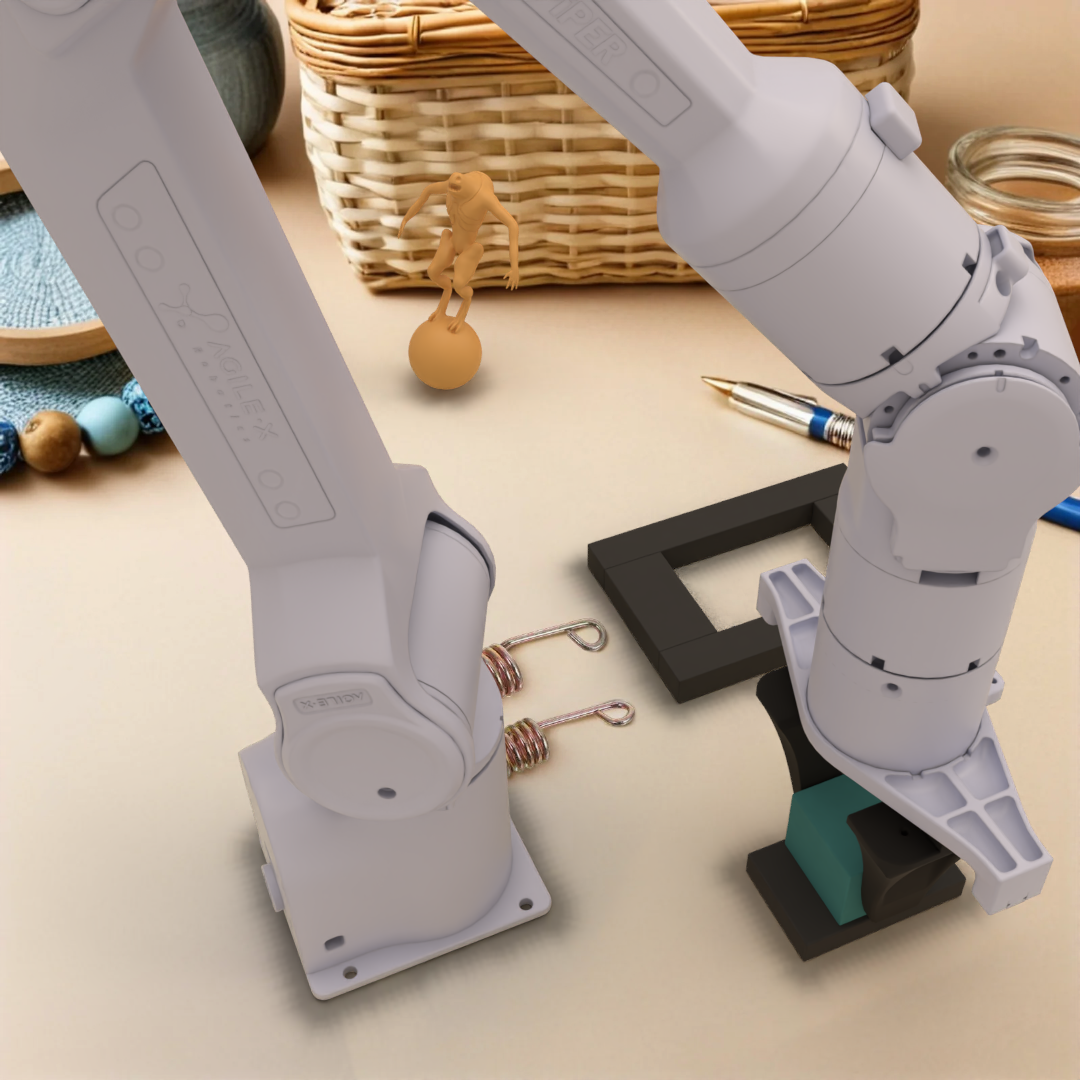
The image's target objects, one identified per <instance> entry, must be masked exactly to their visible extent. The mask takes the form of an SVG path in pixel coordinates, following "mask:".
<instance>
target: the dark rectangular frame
mask: <svg viewBox="0 0 1080 1080" xmlns="http://www.w3.org/2000/svg"><path fill="white" fill-rule="evenodd" d="M847 467H848V465H846V463H845V462H841V463H837V464H835V465H831V466H828V467H826V468H825V467H824V468H822V469H819V470H816V471H813V472H810V473H806V474H804V475H803V474H802V475H800V476H797V477H793V478H791V479H788V480H784V481H781V482H778V483H775V484H771V485H769V486H765V487H762V488H759V489H756V490H752V491H750V492H746V493H743V494H741V495H737V496H734V497H731V498H728V499H725V500H722V501H718V502H715V503H712V504H709V505H705V506H703V507H699V508H696V509H694V510H693V509H692V510H690V511H687V512H684V513H680V514H677V515H674V516H671V517H669V518H665V519H662V520H658V521H655V522H652V523H649V524H646V525H643V526H640V527H637V528H633V529H630V530H627V531H624V532H621V533H618V534H614V535H611V536H609V537H604V538H602V539H599V540H595V541H592V542H590V543H587V568H588V569H589V571H590V573H591V574H592V575H593V577H594V578H595V580H596V581H597V584H599V586H600V587H601V589H602V590H603V592H604V593H605V595H606V596H607V598H608V600H609V601H610V602H611V604H612V606H613V607H614V609H615V610H616V612H617V613H618V615H619V616H620V618H621V620H622V621H623V622H624V624H625V626H626V627H627V628H628V630H629V632H630V633H631V635H632V636H633V637H634V639H635V641H636V642H637V644H638V645H639V647H640V648H641V650H642V651H643V653H644V655H645V656H646V658H647V659H648V660H649V662H650V664H651V666H652V667H653V668H654V669H655V671H656V672H657V674H658V676H659V678H660V679H661V680H662V682H663V684H664V685H665V687H666V688H667V689H668V691H669V693H670V694H671V695H672V697H673V699H674V701H676V703H677V704H682V703H685V702H688V701H691V700H693V699H696V698H699V697H703V696H704V695H707V694H710V693H713V692H716V691H719V690H721V689H724V688H727V687H729V686H732V685H735V684H738V683H741V682H744V681H746V680H750V679H753V678H754V677H758V676H761V675H764V674H767V673H769V672H771V671H774V670H776V669H779V668H782V667H785V666H787V662H786V658H785V653H784V649H783V645H782V641H781V637H780V633H779V629H778V625H770V624H768V623H767V622H766V621H765V620H764V619H763V617H762V616H760V617H757V618H754V619H751V620H748V621H745V622H742V623H739V624H737V625H734V626H730V627H728V628H725V629H722V630H719V631H718V630H717V628H716V627H715V625H714V624H713V623H712V621H711V620H710V619H709V617H708V616H707V614H706V613H705V612H704V610H703V609H702V608H701V606H700V605H699V604H698V602H697V600H696V599H695V598H694V597H693V595H692V593H691V592H690V591H689V590H688V588H687V587H686V585H685V584H684V583H683V581H682V580H681V578H680V577H679V576H678V574H677V573H676V571H675V570H674V569H677V568H680V567H683V566H686V565H689V564H690V565H691V564H693V563H696V562H698V561H701V560H704V559H708V558H711V557H713V556H716V555H720V554H723V553H726V552H729V551H733V550H735V549H738V548H741V547H745V546H747V545H750V544H753V543H756V542H760V541H762V540H766V539H768V538H772V537H774V536H777V535H781V534H783V533H787V532H790V531H793V530H796V529H799V528H801V527H804V526H808V525H810V526H812V528H813V529H814V530H815V531H816V532H817V534H818V535H819V536H820V537H821V539H822V540H823V541H824V542H825V543H826V545H828V547H830V545H831V539H832V533H833V526H834V520H835V514H836V508H837V500H838V493H839V489H840V486H841V482H842V480H843V477H844V475H845V473H846V470H847Z"/></svg>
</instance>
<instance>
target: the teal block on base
mask: <svg viewBox="0 0 1080 1080" xmlns="http://www.w3.org/2000/svg"><path fill="white" fill-rule="evenodd" d="M880 802H882V801H881V800H880V799H878V798H877V797H876V796H874V795H873V794H872V793H870V792H869V791H867V790H866V789H865V788H863V787H862V786H860V785H859V784H858V783H856V782H855V781H853V780H852V779H851V778H849V777H848V776H846V775H845V774H843V775H840V776H838V777H835V778H833V779H830V780H827V781H825V782H822V783H820V784H817V785H814V786H812V787H809V788H807V789H804V790H802V791H799V792H796V793H792V794H791V801H790V807H789V813H788V820H787V826H786V833H785V839H782V840H779V841H777V842H774V843H772V844H769V845H766V846H764V847H761V848H759V849H756V850H754V851H752V852H749V853H748V854H747V858H746V867H745V872H746V874H747V875H748V877H749V878H750V880H751V881H752V883H753V886H755V888H756V889H757V891H758V893H759V894H760V896H761V897H762V899H763V901H764V902H765V904H766V905H767V907H768V908H769V910H770V912H771V913H772V915H773V917H774V918H775V920H776V921H777V923H778V925H779V926H780V928H781V929H782V930H783V933H784V935H786V938H788V940H789V942H790V943H791V945H792V947H793V948H794V950H795V951H796V953H797V954H798V956H799V958H800V959H801V961H802V962H804V963H805V962H807V961H810V960H813V959H815V958H817V957H820V956H822V955H825V954H827V953H829V952H832V951H833V950H836V949H838V948H840V947H841V948H842V947H843V946H845V945H848V944H850V943H853V942H855V941H858V940H860V939H863V938H865V937H867V936H869V935H871V934H873V933H876V932H879V931H882V930H884V929H886V928H888V927H891V926H893V925H896V924H897V923H900V922H902V921H905V920H907V919H909V918H912V917H913V916H917V915H918V914H921V913H923V912H926V911H928V910H931V909H933V908H935V907H937V906H940V905H942V904H945V903H948V902H950V901H952V900H954V899H957V898H959V897H961V896H963V895H962V894H963V891H964V888H965V885H966V882H967V877H966V876H965V874H964V873H963V871H962V870H961V869H960V868H959V866H958V865H957V863H955V864H954V865H952V866H951V867H950V868H949V869H948V870H947V871H946V872H945V873H944V874H943V875H942V876H941V877H940V878H939V879H938V880H937V881H936V882H935V884H934V885H933V886H932V887H931V888H930V890H929V891H928V892H927V894H926V895H925V896H924V898H923V899H922V900H921V902H920V903H919V905H918V906H917V907H915V908H912V909H910V910H907V911H905V912H903V913H900V914H898V915H896V916H893V917H891V918H888V919H886V920H884V921H881V922H879V923H877V924H876V923H873V922H872V921H871V920H870V919H869V917H868V916H867V914H866V913H865V911H864V909H863V905H862V900H861V884H862V876H863V860H862V853H861V849H860V845H859V843H858V840H857V838H856V835H855V834H854V833H853V831H852V830H851V828H850V827H849V826H848V824H847V823H846V821H847V816H848V815H849V814H852V813H854V812H857V811H859V810H862V809H864V808H867V807H870V806H872V805H875V804H877V803H880Z"/></svg>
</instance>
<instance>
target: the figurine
mask: <svg viewBox="0 0 1080 1080" xmlns="http://www.w3.org/2000/svg"><path fill="white" fill-rule="evenodd" d="M431 195H445V209H446V212H447V215H448V217H449V221H450V222H449V223H450V224H451V229H449V228H444V229H443V230H442V231H441V234H440V235H441V236H440V239H439V245H438V248H437V249H436V251H435V254H434V256H433V258H432V260H431V262H430V264H429V266H427V269H426V273H427V276H428V277H429V279H430V281H431V282H433V283H434V284H436V285H437V286H438V287H439V288H441V289H443V292H442V295H441V297H440V299H439V302H438V305H437V306H436V309H435V310H434V311H433V312H432V313H430V315H429V316H428V318H427V319H426V320H425V321H423V322H422V323H421V324H420V325H418V327H417V328H415V330H414V332H413V333H412V335H411V337H410V340H409V344H408V350H407V352H408V361H409V364H410V367H411V370H412V372H413V373H414V374H415V376H416V377H417V378H418V380H419V381H421V382H422V383H424V384H425V385H427V386H428V387H431V388H432V389H433V388H434V389H436V390H445V391H448V390H453V389H459V388H460V387H462V386H465V384H467V383H469V382H470V381H471V380H472V379H473V378H474V377H475V375H476V374H477V373H478V371H479V369H480V366H481V363H482V358H483V347H482V343H481V339H480V337H479V336H478V334H477V332H476V330H475V329H474V328H473V327H472V326H471V325H470V324H469V323H468V322H467V321H465V320H466V318H467V315H468V312H469V309H470V308H471V304H472V301H473V300H472V297H473V295H474V290H473V288H472V286H470V285H468V284H469V283H470V281H471V280H472V279H473V277H474V276H475V273H476V270H477V267H478V266H479V263H480V261H481V259H482V258H483V257H484V253H485V249H484V245H482V244H481V243H480V242H479V241H476V239H477V237H478V234H479V230H480V228H481V227H482V225H483V222H484V220H485V218H486V216H487V213H488V212H489V213H491V214H492V215H493V216H494V217H495V218H496V219H497V220H498V221H499V222H500V223H502V224H503V225H504V226H505V227H506V228H508V229H507V230H508V241H509V244H508V245H509V246H508V256H509V257H508V258H509V262H510V263H509V264H510V269H509V271H507V272H506V273H505V275H504V276H503V280H505V279H507V277H508V281H507V284H506V286H505V289H506V290H507V289H509V287H511V288H510V291H513V290H514V288H515V290H517V289H518V285H519V280H520V270H519V269H520V268H519V237H520V228H519V224H518V222H517V221H516V219H515V218H514V217H513V215H512V214H511V213H510V212H509V210H507V209H506V208H505V207H504V206H503V205H502V203H501V202H500V200H499V198H498V197H497V195H495V187H494V182H493V180H492V179H491V177H490V176H489V175H488V174H486V173H485V172H482V171H479V170H472V171H469V172H467V173H461V172H458V171H454V172H453V173H451V175H450V176H449V178H448V179H446V180H443V181H437V182H432V183H430V184H428V185H427V186H425V187H424V188H423V190H422V192H421V193H420V195H419V197H418V198H417V199H416V201H414V203H412V205H411V206H410V207H409V208H408V210H407V212H406V213H405V215H404V216H403V218H402V221H401V223H400V226H399V230H398V232H397V239H398V240H399V239H400V237H401V236H402V233H403V232H404V230H405V227H406V225H407V223H408V222H409V221H410V220H412V218H414V217H415V216H416V215H417V214H418V213H419V212H420V211H421V209H422V208H423V206H425V203H427V202H428V200H429V198H430V196H431ZM456 254H457V255H458V256H457V257H456ZM455 257H456V259H455ZM454 260H455V261H454ZM452 265H453V277H452V279H451V278H450V276H448V275H446V274H444V273H443V271H444V270H445V269H449V268H450V267H451V266H452ZM510 285H511V286H510ZM452 286H453V287H452ZM453 288H454V291H455V293H457V294H458V296H460V297H461V298H462V299H463V300H461V301H462V302H461V304H460V306H459V309H458V311H457V313H456V315H455V316H452V315H447V309H448V306H449V303H450V299H451V296H452V293H453Z"/></svg>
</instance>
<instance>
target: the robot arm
mask: <svg viewBox="0 0 1080 1080" xmlns="http://www.w3.org/2000/svg"><path fill="white" fill-rule="evenodd" d="M468 1H469V2H470V3H471V4H473V5H474V7H476V8H477V9H478V10H479V11H480V12H482V13H483V14H484V15H485V16H486V17H487V18H488V19H490V21H492V22H493V23H494V24H495V25H496V26H497V27H499V29H501V30H502V31H503V32H504V33H505V34H507V35H508V36H509V37H510V38H511V39H512V40H513V41H515V43H517V44H518V45H519V46H520V47H521V48H523V50H525V51H526V52H527V53H528V54H530V55H531V56H532V57H533V58H534V59H535V60H536V61H537V62H538V63H539V64H541V65H542V66H543V67H544V68H545V69H547V71H549V72H550V73H551V74H552V75H553V76H554V77H556V79H558V80H559V81H560V82H561V83H563V85H565V86H566V87H567V88H568V89H569V90H571V91H572V92H573V93H574V94H575V95H576V96H577V97H578V98H579V99H580V100H582V101H583V102H584V103H585V104H587V105H588V106H589V107H590V108H591V109H592V110H593V111H595V112H596V113H597V114H598V115H599V116H600V117H601V118H603V120H604V121H605V122H607V123H608V124H609V125H611V126H612V127H613V128H614V129H615V130H616V131H617V132H619V134H621V135H622V136H623V137H624V138H625V139H626V140H628V141H629V143H630V144H632V145H633V146H634V147H635V148H637V149H638V150H639V151H640V152H642V154H643V155H645V156H646V158H648V159H649V160H650V161H652V162H653V163H654V164H655V165H656V166H657V167H658V169H659V175H658V184H657V195H656V223H657V228H658V232H659V234H660V237H661V238H662V240H663V241H664V242H665V244H666V245H667V246H668V247H669V248H671V250H672V251H674V253H676V254H677V255H678V256H679V257H680V258H681V259H682V260H683V261H684V262H686V263H687V265H689V266H690V267H691V268H692V269H693V270H694V271H695V272H696V273H697V274H698V275H699V276H701V278H702V279H703V280H704V281H706V282H707V283H708V284H709V285H710V286H711V287H712V288H713V289H714V290H715V291H716V292H717V293H718V294H719V295H720V296H722V297H723V299H725V300H726V302H728V303H729V304H730V305H731V306H732V308H734V310H736V311H737V312H738V313H739V314H741V315H742V317H743V318H744V319H746V321H748V322H749V323H750V324H751V325H752V326H753V327H754V328H755V329H756V330H757V331H758V332H759V333H760V334H761V335H762V336H763V337H765V339H767V341H769V342H770V343H771V344H772V345H773V346H774V347H775V348H776V349H777V350H778V351H779V352H781V354H782V355H783V356H784V357H786V359H788V361H790V362H791V363H792V364H793V365H794V366H795V367H796V368H797V369H798V370H799V371H800V372H801V373H802V374H803V375H805V377H807V379H808V380H809V381H811V383H813V384H814V386H816V387H817V388H818V389H819V390H820V391H821V392H823V393H824V394H825V395H827V396H828V397H830V398H831V399H832V400H834V401H836V402H837V403H838V404H840V405H842V406H843V407H845V408H846V409H848V410H849V411H851V412H852V413H853V414H855V419H854V422H853V423H854V425H853V430H852V437H851V443H850V450H849V454H848V455H849V456H848V461H847V470H846V473H845V475H844V477H843V480H842V482H841V486H840V489H839V493H838V500H837V508H836V514H835V520H834V526H833V533H832V539H831V545H830V546H829V552H828V559H827V565H826V571H825V576H824V575H823V574H822V573H821V572H820V571H819V570H818V569H817V568H816V567H815V566H814V565H813V563H811V561H810V560H809V559H808V558H801V559H799V560H796V561H793V562H790V563H787V564H784V565H781V566H778V567H774V568H772V569H769V570H766V571H763V572H761V573H760V574H759V580H758V590H757V597H756V606H755V609H756V611H757V612H758V614H759V615H760V617H763V619H764V620H765V621H766V622H767V623H768V624H770V625H778V629H779V633H780V637H781V641H782V645H783V649H784V653H785V658H786V662H787V665H786V666H783V667H780V668H777V669H775V670H772V671H769V672H766V673H764V674H763V675H762V676H761V677H760V678H759V680H758V682H756V683H757V684H756V689H755V696H756V698H757V699H758V701H759V703H760V705H762V707H763V708H764V709H765V711H766V713H767V715H768V717H769V718H770V721H771V722H772V724H773V725H772V726H773V728H774V729H775V731H776V734H777V736H778V738H779V741H780V744H781V748H782V750H783V754H784V756H785V760H786V761H785V762H786V764H787V768H788V772H789V777H790V782H791V788H792V794H794V793H796V792H799V791H802V790H804V789H807V788H809V787H812V786H814V785H817V784H820V783H822V782H825V781H827V780H830V779H833V778H835V777H838V776H840V775H843V774H845V775H846V776H848V777H849V778H851V779H852V780H853V781H855V782H856V783H858V784H859V785H860V786H862V787H863V788H865V789H866V790H867V791H869V792H870V793H872V794H873V795H874V796H876V797H877V798H878V799H880V800H881V801H882V802H880V803H877V804H875V805H872V806H870V807H867V808H864V809H862V810H859V811H857V812H854V813H852V814H849V815H848V816H847V821H846V823H847V824H848V826H849V827H850V828H851V830H852V831H853V833H854V834H855V835H856V838H857V840H858V843H859V845H860V849H861V853H862V860H863V876H862V884H861V900H862V905H863V909H864V911H865V913H866V914H867V916H868V917H869V919H870V920H871V921H872V922H873V923H876V924H877V923H879V922H881V921H884V920H886V919H888V918H891V917H893V916H896V915H898V914H900V913H903V912H905V911H907V910H910V909H912V908H915V907H917V906H918V905H919V903H920V902H921V900H922V899H923V898H924V896H925V895H926V894H927V892H928V891H929V890H930V888H931V887H932V886H933V885H934V884H935V882H936V881H937V880H938V879H939V878H940V877H941V876H942V875H943V874H944V873H945V872H946V871H947V870H948V869H949V868H950V867H951V866H952V865H954V864H957V862H959V861H960V860H962V861H964V862H965V863H966V864H967V865H968V866H969V867H970V868H971V869H972V871H973V872H974V881H973V884H972V887H971V895H972V896H973V897H974V899H975V900H976V902H977V903H978V904H979V905H980V907H981V908H982V909H983V911H984V912H985V913H986V914H987V916H993V915H995V914H998V913H1000V912H1002V911H1005V910H1008V909H1010V908H1013V907H1014V906H1017V905H1019V904H1021V903H1024V902H1026V901H1029V900H1030V899H1032V898H1035V897H1037V896H1040V895H1041V894H1042V891H1043V888H1044V885H1045V883H1046V881H1047V878H1048V875H1049V872H1050V870H1051V867H1052V865H1053V863H1054V857H1053V856H1052V855H1051V853H1050V852H1049V850H1048V849H1047V847H1045V845H1044V843H1043V842H1042V841H1041V840H1040V838H1039V837H1038V835H1037V833H1036V832H1035V830H1034V828H1033V826H1032V824H1031V823H1030V820H1029V817H1028V815H1027V813H1026V810H1025V809H1024V806H1023V803H1022V801H1021V798H1020V795H1019V792H1018V790H1017V787H1016V784H1015V781H1014V778H1013V776H1012V774H1011V770H1010V768H1009V765H1008V762H1007V759H1006V757H1005V754H1004V752H1003V749H1002V746H1001V743H1000V741H999V737H998V735H997V732H996V730H995V726H994V724H993V721H992V719H991V716H990V713H989V710H988V707H989V706H990V705H993V704H996V703H997V702H998V701H1000V700H1002V699H1001V698H1002V695H1003V692H1004V689H1005V684H1006V682H1005V680H1004V678H1003V676H1002V675H1001V673H999V672H998V671H997V670H996V669H997V666H998V663H999V661H1000V657H1001V653H1002V649H1003V646H1004V642H1005V640H1006V637H1007V634H1008V630H1009V627H1010V623H1011V620H1012V616H1013V613H1014V609H1015V606H1016V602H1017V600H1018V599H1017V598H1018V596H1019V592H1020V589H1021V584H1022V581H1023V578H1024V575H1025V571H1026V568H1027V564H1028V561H1029V557H1030V555H1031V551H1032V547H1033V544H1034V539H1035V537H1036V533H1037V529H1038V520H1039V519H1040V518H1041V517H1043V516H1044V515H1045V514H1046V513H1048V512H1049V511H1051V510H1053V509H1054V508H1055V507H1057V506H1059V505H1060V504H1061V503H1062V502H1064V501H1065V500H1066V499H1067V498H1069V497H1070V496H1071V495H1072V494H1073V493H1074V492H1076V490H1078V488H1079V487H1080V362H1079V358H1078V356H1077V353H1076V350H1075V348H1074V344H1073V342H1072V338H1071V336H1070V333H1069V331H1068V328H1067V324H1066V322H1065V318H1064V317H1063V314H1062V311H1061V308H1060V305H1059V303H1058V299H1057V296H1056V294H1055V292H1054V290H1053V287H1052V285H1051V282H1050V281H1049V280H1048V278H1047V276H1046V275H1045V273H1044V271H1043V269H1042V268H1041V265H1040V264H1039V263H1038V262H1037V261H1036V259H1035V253H1034V248H1033V245H1032V243H1031V242H1030V241H1029V240H1027V239H1025V238H1024V237H1022V236H1021V235H1019V234H1016V233H1015V232H1012V231H1011V230H1009V229H1008V228H1007V227H1006V226H1005V225H1003V224H997V225H995V226H994V225H988V224H980V223H977V222H976V221H975V220H974V218H973V217H972V216H971V215H970V214H969V213H968V212H967V211H966V209H965V208H964V207H963V206H962V205H961V204H960V203H959V201H958V200H956V198H955V197H954V196H953V194H951V193H950V192H949V190H948V189H947V188H946V187H945V186H944V184H942V182H941V181H940V180H939V179H938V178H937V177H936V175H935V174H933V172H931V170H930V169H929V167H927V165H926V164H925V163H924V162H923V161H922V160H921V159H920V158H919V157H918V155H917V154H916V153H915V151H916V150H918V149H919V148H920V146H921V145H922V142H923V137H922V135H921V130H920V127H919V124H918V119H917V116H916V113H915V111H914V110H913V109H912V107H911V106H910V104H908V103H907V102H906V100H905V99H904V97H902V95H900V94H899V92H898V91H897V90H896V89H895V88H894V87H893V86H892V84H891V83H889V82H886V81H882V82H880V83H879V84H877V85H876V86H875V87H873V88H872V89H871V90H870V91H868V92H867V93H866V94H864V95H863V94H862V93H861V92H860V91H859V89H858V88H857V87H856V86H855V85H854V83H852V81H851V80H850V79H849V78H848V77H847V76H846V74H844V72H843V71H842V70H840V68H839V67H838V66H836V65H835V64H834V63H833V62H831V61H828V60H826V59H821V58H817V57H816V58H815V57H810V56H809V57H808V56H762V55H758V54H754V53H752V52H751V51H749V49H748V48H747V47H746V46H745V44H744V43H743V42H742V41H741V40H740V38H739V37H738V36H737V35H736V34H735V33H734V32H733V30H732V29H731V28H730V27H729V26H728V24H727V23H726V21H724V20H723V18H722V17H721V16H720V15H719V14H718V12H717V11H716V10H715V9H714V8H713V6H712V5H711V4H710V3H709V2H708V0H468ZM0 154H1V155H2V157H3V158H4V160H5V162H6V163H7V165H8V167H9V168H10V170H11V173H13V175H14V178H15V179H16V181H17V182H18V184H19V185H20V187H21V189H22V191H23V192H24V194H25V195H26V197H27V199H28V200H29V203H30V204H31V206H32V207H33V209H34V211H35V212H36V214H37V215H38V218H39V219H40V221H41V222H42V224H43V226H44V227H45V230H46V231H47V232H48V234H49V236H50V238H51V239H52V241H53V243H54V244H55V246H56V248H57V249H58V251H59V253H60V254H61V256H62V258H63V259H64V261H65V263H66V264H67V266H68V267H69V269H70V272H71V273H72V274H73V276H74V278H75V279H76V281H77V283H78V285H79V286H80V288H81V289H82V291H83V294H84V295H85V296H86V298H87V300H88V302H89V303H90V305H91V306H92V308H93V310H94V312H95V313H96V315H97V317H98V318H99V320H100V322H101V324H102V325H103V327H104V328H105V330H106V331H107V334H108V335H109V336H110V337H109V338H111V340H112V342H113V343H114V345H115V347H116V349H117V351H118V352H119V353H120V355H121V357H122V359H123V360H124V362H125V364H126V365H127V367H128V369H129V370H130V372H131V373H132V375H133V377H134V379H135V380H136V382H137V383H138V386H139V387H140V389H141V391H142V393H143V394H144V395H145V397H146V399H147V400H148V402H149V404H150V406H151V407H152V409H153V411H154V412H155V414H156V416H157V417H158V419H159V421H160V422H161V424H162V426H163V428H164V429H165V431H166V433H167V434H168V436H169V437H170V439H171V441H172V442H173V444H174V445H175V447H176V449H177V451H178V453H179V455H180V456H181V457H182V459H183V461H184V463H185V465H186V466H187V468H188V469H189V471H190V473H191V474H192V476H193V479H195V482H196V483H197V484H198V487H199V488H200V490H201V491H202V493H203V495H204V496H205V498H206V500H207V502H208V503H209V505H210V506H211V509H212V510H213V511H214V513H215V515H216V517H217V518H218V520H219V522H220V523H221V525H222V527H223V529H224V530H225V532H226V533H227V535H228V537H229V538H230V540H231V543H233V545H234V547H235V549H236V551H237V552H238V553H239V555H240V557H241V559H242V561H243V562H244V564H245V565H246V567H247V571H248V578H249V589H250V590H249V591H250V607H251V622H252V623H251V624H252V625H251V626H252V640H253V641H252V644H253V656H254V657H253V658H254V659H253V661H254V670H255V679H256V685H257V687H258V689H259V690H260V692H261V694H262V695H263V697H264V698H265V700H266V701H267V703H268V705H269V707H270V709H271V711H272V713H273V714H272V715H273V717H274V720H275V730H274V732H272V733H270V734H268V735H267V736H265V737H264V738H262V739H260V740H257V741H256V742H254V743H252V744H250V745H247V746H246V747H244V748H242V749H240V750H239V751H237V757H238V761H239V766H240V769H241V773H242V774H241V775H242V777H243V781H244V785H245V789H246V792H247V795H248V796H247V797H248V799H249V803H250V807H251V812H252V814H253V818H254V821H255V826H256V829H257V833H258V839H259V845H260V848H261V850H262V853H263V856H264V859H265V862H266V863H264V864H262V865H261V866H260V870H261V874H262V877H263V880H264V883H265V886H266V889H267V892H268V895H269V898H270V901H271V904H272V907H273V909H274V912H275V913H279V912H282V911H283V914H284V916H285V919H286V922H287V926H288V928H289V931H290V934H291V937H292V939H293V943H294V945H295V949H296V951H297V954H298V957H299V959H300V962H301V965H302V968H303V971H304V974H305V977H306V980H307V982H308V985H309V989H310V991H311V993H312V995H313V996H314V997H313V998H316V999H317V1000H320V1001H327V1000H330V999H333V998H336V997H338V996H341V995H343V994H346V993H348V992H351V991H353V990H356V989H358V988H361V987H364V986H366V985H369V984H371V983H374V982H376V981H379V980H382V979H385V978H386V977H388V976H389V977H390V976H392V975H394V974H397V973H399V972H402V971H405V970H407V969H410V968H412V967H415V966H417V965H420V964H422V963H425V962H428V961H431V960H433V959H436V958H438V957H440V956H443V955H446V954H448V953H451V952H453V951H455V950H458V949H461V948H463V947H466V946H468V945H472V944H474V943H476V942H479V941H481V940H483V939H486V938H489V937H491V936H493V935H496V934H499V933H502V932H504V931H506V930H510V929H511V928H514V927H517V926H520V925H523V924H524V923H527V922H530V921H532V920H534V919H537V918H540V917H542V916H545V915H546V914H548V913H549V912H550V910H551V909H552V897H551V894H550V893H549V890H548V888H547V887H546V884H545V882H544V881H543V878H542V877H541V874H540V873H539V871H538V868H537V866H536V865H535V862H534V861H533V859H532V857H531V855H530V853H529V851H528V849H527V847H526V845H525V843H524V841H523V839H522V837H521V834H520V833H519V831H518V830H517V827H516V825H515V824H514V821H513V819H512V818H511V813H510V812H511V811H510V795H509V782H508V765H507V763H508V762H507V747H506V734H505V721H504V704H503V699H502V694H501V691H500V689H499V686H498V684H497V682H496V680H495V678H494V676H493V674H492V672H491V671H490V669H489V667H488V666H487V664H486V662H485V660H484V658H483V649H484V641H485V640H484V639H485V631H486V622H487V613H488V607H489V606H488V605H489V601H490V599H491V596H492V593H493V591H494V589H495V586H496V576H497V574H496V573H497V566H496V561H495V555H494V553H493V550H492V548H491V546H490V544H489V542H488V541H487V540H486V538H485V536H484V535H483V534H482V533H481V532H480V531H479V529H478V528H476V526H474V524H472V523H471V522H469V521H468V520H467V519H465V518H464V517H463V516H461V515H460V514H459V513H458V512H457V511H455V510H453V508H452V507H451V506H450V505H448V503H446V501H445V500H444V499H443V498H442V496H441V495H440V493H439V492H438V490H437V488H436V486H435V485H434V482H433V480H432V478H431V475H430V473H429V471H428V469H427V467H425V466H423V465H420V464H414V463H401V462H393V460H392V459H391V456H390V455H389V452H388V450H387V448H386V445H385V444H384V442H383V440H382V437H381V435H380V433H379V431H378V429H377V426H376V424H375V422H374V420H373V418H372V416H371V414H370V411H369V410H368V408H367V406H366V404H365V401H364V399H363V396H362V395H361V392H360V390H359V388H358V386H357V384H356V382H355V380H354V378H353V375H352V373H351V371H350V369H349V367H348V365H347V363H346V360H345V359H344V357H343V354H342V352H341V350H340V347H339V345H338V344H337V341H336V340H335V337H334V335H333V333H332V331H331V329H330V326H329V324H328V323H327V321H326V320H327V319H326V318H325V316H324V313H323V312H322V309H321V307H320V305H319V302H318V301H317V299H316V297H315V295H314V293H313V290H312V288H311V286H310V283H309V282H308V280H307V277H306V276H305V275H306V274H305V273H304V270H303V269H302V267H301V265H300V262H299V260H298V259H297V256H296V254H295V252H294V250H293V248H292V246H291V243H290V242H289V239H288V237H287V235H286V233H285V231H284V229H283V227H282V224H281V222H280V220H279V218H278V216H277V214H276V212H275V210H274V208H273V205H272V203H271V201H270V199H269V197H268V194H267V192H266V190H265V189H264V186H263V184H262V182H261V179H260V178H259V176H258V174H257V171H256V169H255V167H254V165H253V162H252V160H251V159H250V156H249V153H248V152H247V150H246V148H245V145H244V144H243V141H242V140H241V137H240V135H239V132H238V131H237V129H236V126H235V125H234V122H233V120H232V117H231V116H230V114H229V112H228V110H227V107H226V105H225V103H224V101H223V99H222V97H221V95H220V92H219V90H218V88H217V86H216V84H215V81H214V80H213V77H212V75H211V73H210V71H209V69H208V67H207V65H206V63H205V60H204V58H203V56H202V54H201V52H200V50H199V48H198V46H197V43H196V40H194V37H193V35H192V33H191V31H190V28H189V27H188V24H187V23H186V19H185V18H184V16H183V14H182V12H181V10H180V8H179V5H178V0H0ZM524 905H529V906H530V907H531V908H529V909H522V908H521V907H522V906H524ZM349 973H355V974H356V975H355V976H354V977H352V978H346V975H347V974H349Z"/></svg>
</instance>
